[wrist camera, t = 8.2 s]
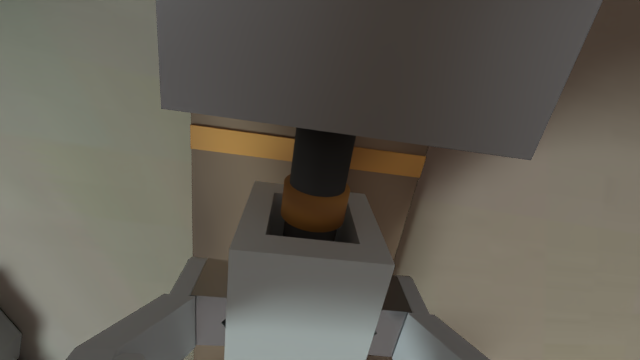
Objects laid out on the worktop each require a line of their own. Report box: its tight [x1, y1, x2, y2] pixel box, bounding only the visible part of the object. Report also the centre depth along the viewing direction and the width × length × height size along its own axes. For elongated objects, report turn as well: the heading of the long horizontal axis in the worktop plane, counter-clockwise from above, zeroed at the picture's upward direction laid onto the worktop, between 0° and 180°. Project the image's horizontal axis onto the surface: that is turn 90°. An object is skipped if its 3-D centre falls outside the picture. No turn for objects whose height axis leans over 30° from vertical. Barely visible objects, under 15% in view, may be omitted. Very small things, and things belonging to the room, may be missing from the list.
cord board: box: [156, 0, 603, 360], centre depth 13 cm, size 10×29×10 cm, turn 171°
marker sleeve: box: [224, 181, 395, 360], centre depth 10 cm, size 4×5×4 cm
